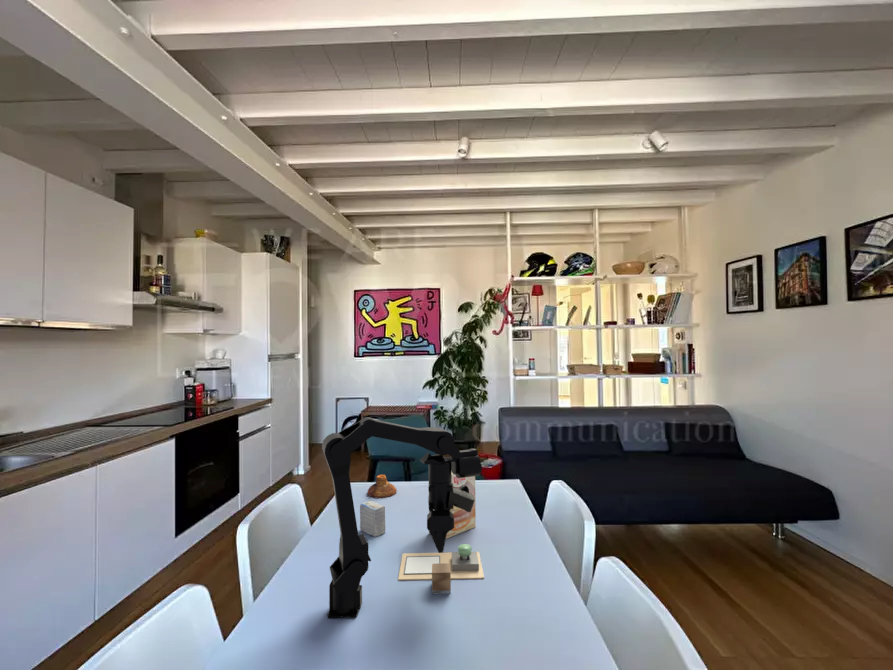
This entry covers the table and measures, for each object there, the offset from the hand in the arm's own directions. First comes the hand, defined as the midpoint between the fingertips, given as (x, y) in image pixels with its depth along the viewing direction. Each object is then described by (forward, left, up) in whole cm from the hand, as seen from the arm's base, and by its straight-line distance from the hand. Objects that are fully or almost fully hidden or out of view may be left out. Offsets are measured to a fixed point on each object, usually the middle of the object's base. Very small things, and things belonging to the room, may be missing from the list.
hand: (440, 543), depth 107 cm
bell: (-24, +72, -11) cm, 77 cm away
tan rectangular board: (0, +11, -11) cm, 15 cm away
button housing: (+7, +11, -11) cm, 17 cm away
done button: (+7, +11, -9) cm, 16 cm away
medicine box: (-22, +34, -11) cm, 42 cm away
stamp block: (0, 0, -11) cm, 11 cm away
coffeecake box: (+4, +34, -11) cm, 36 cm away
